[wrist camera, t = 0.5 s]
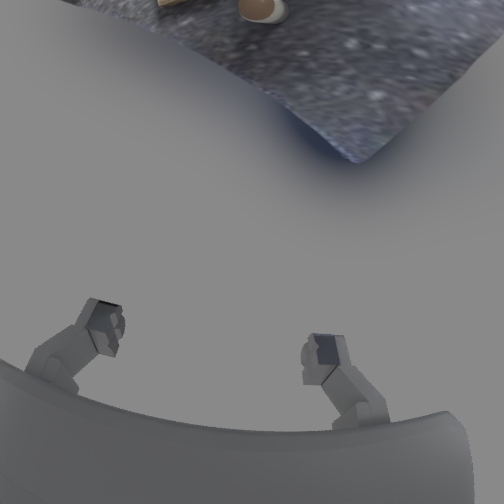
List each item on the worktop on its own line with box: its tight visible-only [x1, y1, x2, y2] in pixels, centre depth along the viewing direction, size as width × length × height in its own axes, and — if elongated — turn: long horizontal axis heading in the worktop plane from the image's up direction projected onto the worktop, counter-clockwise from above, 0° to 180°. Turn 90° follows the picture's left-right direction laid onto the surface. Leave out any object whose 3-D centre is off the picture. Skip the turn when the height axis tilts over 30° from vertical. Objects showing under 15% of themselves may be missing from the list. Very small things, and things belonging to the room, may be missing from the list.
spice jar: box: [238, 0, 290, 24], centre depth 28 cm, size 5×5×12 cm
